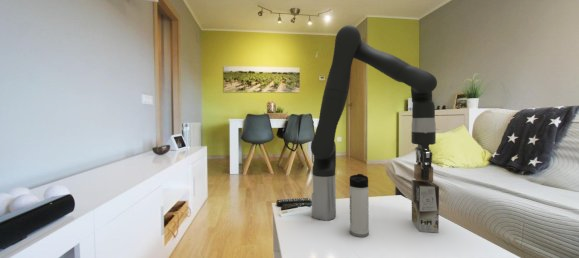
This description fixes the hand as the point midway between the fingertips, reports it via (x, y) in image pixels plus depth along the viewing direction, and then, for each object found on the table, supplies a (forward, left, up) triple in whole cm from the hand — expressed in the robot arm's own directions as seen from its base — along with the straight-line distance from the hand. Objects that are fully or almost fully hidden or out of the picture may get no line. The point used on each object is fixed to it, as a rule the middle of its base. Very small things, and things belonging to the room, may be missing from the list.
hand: (423, 177), depth 85 cm
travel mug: (-22, -11, -18) cm, 31 cm away
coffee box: (0, 0, -18) cm, 18 cm away
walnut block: (0, 0, -1) cm, 1 cm away
